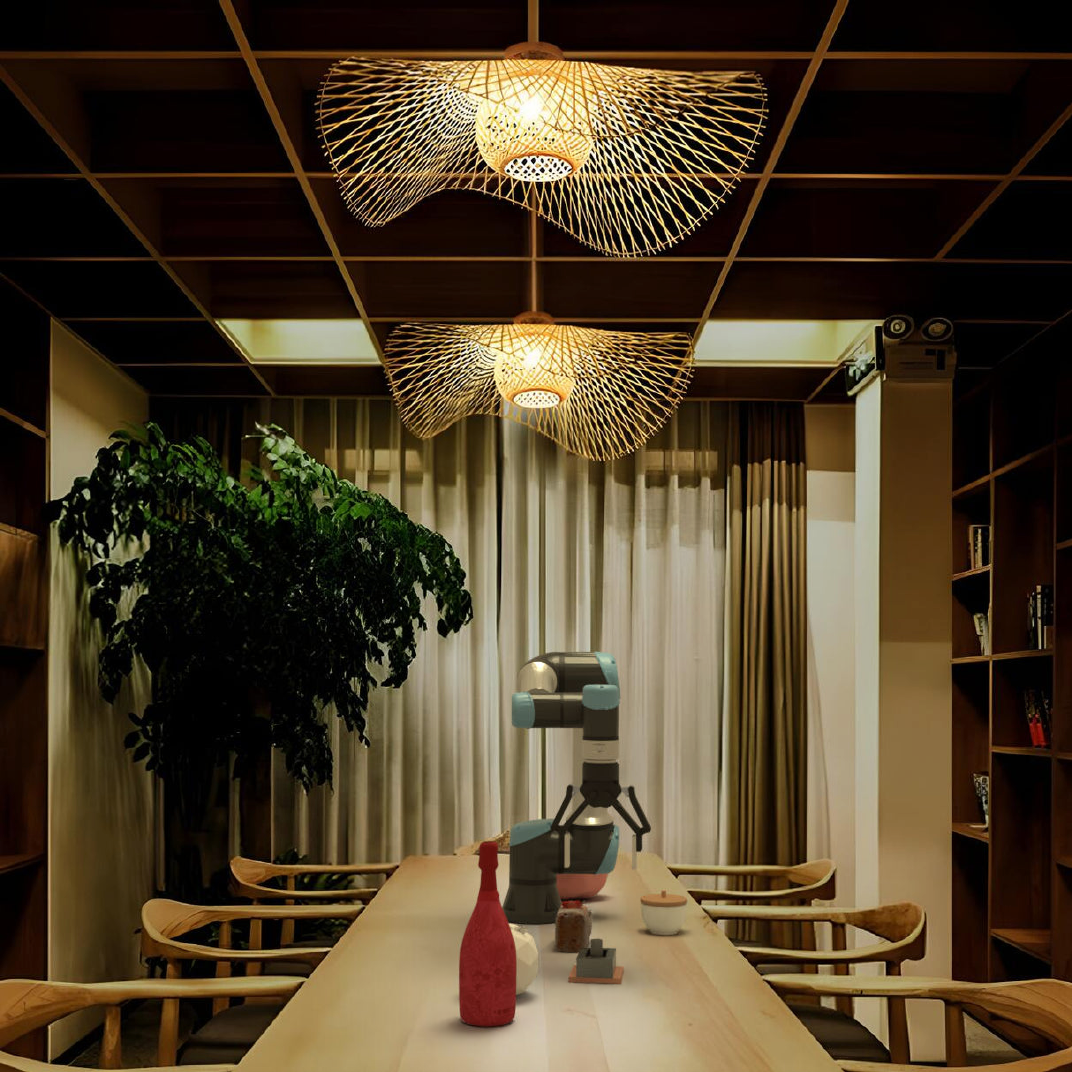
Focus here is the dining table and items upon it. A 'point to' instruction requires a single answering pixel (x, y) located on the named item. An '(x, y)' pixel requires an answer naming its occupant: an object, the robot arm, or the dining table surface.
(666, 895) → the lidded jar
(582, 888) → the cell model
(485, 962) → the wine bottle
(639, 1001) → the dining table surface
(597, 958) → the grey hollow block
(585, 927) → the food item
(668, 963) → the dining table surface
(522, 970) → the geodesic sphere
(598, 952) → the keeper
